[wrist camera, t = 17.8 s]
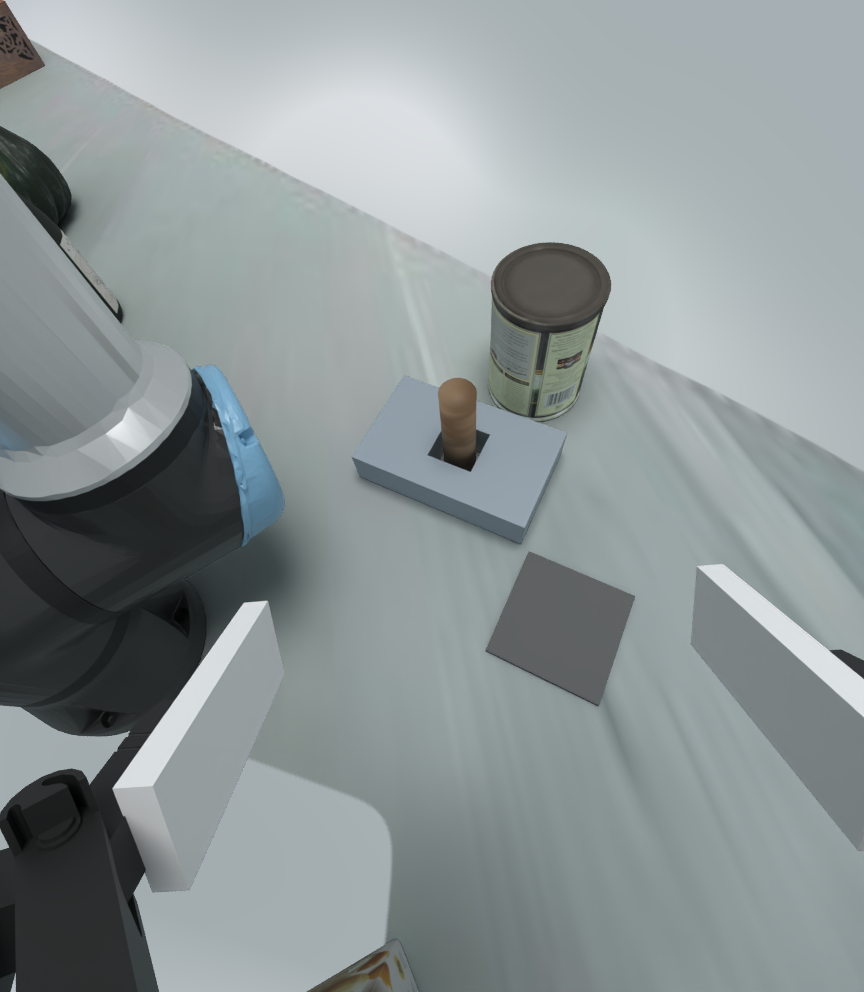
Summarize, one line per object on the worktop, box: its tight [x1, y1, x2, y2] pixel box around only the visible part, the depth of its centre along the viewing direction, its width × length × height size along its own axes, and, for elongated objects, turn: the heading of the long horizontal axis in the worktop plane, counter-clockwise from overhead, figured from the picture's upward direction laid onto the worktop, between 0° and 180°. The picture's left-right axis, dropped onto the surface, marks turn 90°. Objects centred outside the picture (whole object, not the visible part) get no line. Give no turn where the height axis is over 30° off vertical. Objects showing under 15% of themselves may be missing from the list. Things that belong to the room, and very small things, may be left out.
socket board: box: [352, 376, 567, 544], centre depth 50 cm, size 18×11×4 cm, turn 64°
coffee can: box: [488, 243, 611, 421], centre depth 50 cm, size 10×10×14 cm
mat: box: [486, 552, 635, 706], centre depth 44 cm, size 10×10×1 cm
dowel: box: [438, 378, 477, 472], centre depth 47 cm, size 3×3×12 cm
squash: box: [0, 126, 71, 226], centre depth 71 cm, size 14×15×15 cm
